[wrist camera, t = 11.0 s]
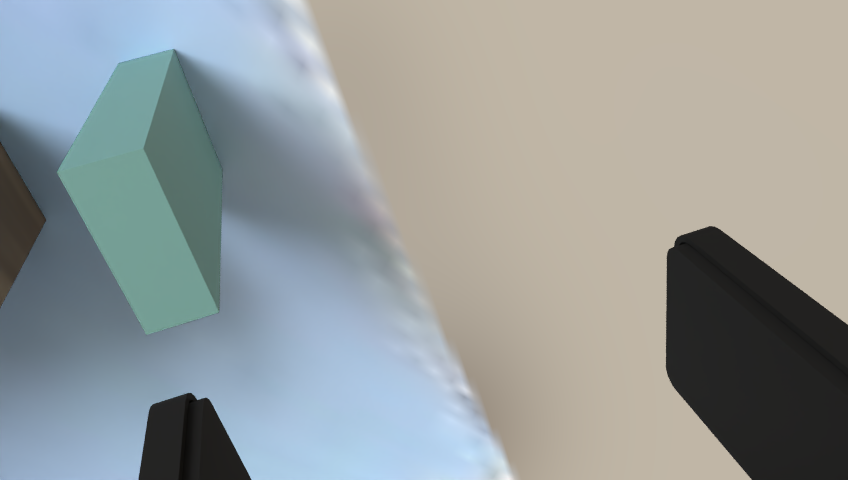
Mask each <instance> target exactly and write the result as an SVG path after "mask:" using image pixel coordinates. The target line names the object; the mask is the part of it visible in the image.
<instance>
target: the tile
mask: <svg viewBox="0 0 848 480" xmlns="http://www.w3.org/2000/svg"><path fill="white" fill-rule="evenodd" d="M222 172H223V170H222V168H221V165H220V163H219V160H218V158H217V155H216V153H215V150H214V148H213V145H212V143H211V140H210V138H209V135H208V133H207V130H206V128H205V125H204V123H203V120H202V118H201V115H200V113H199V110H198V108H197V105H196V103H195V100H194V98H193V95H192V93H191V90H190V88H189V85H188V83H187V80H186V78H185V75H184V73H183V70H182V68H181V65H180V63H179V60H178V58H177V55H176V53H175V50H174V49H172V50H168V51H164V52H160V53H156V54H152V55H149V56H145V57H141V58H137V59H133V60H129V61H125V62H122V63H119V64H118V65H117V67H116V69H115V71H114V72H113V74H112V76H111V78H110V79H109V81H108V83H107V85H106V86H105V88H104V90H103V92H102V93H101V95H100V97H99V99H98V101H97V102H96V104H95V106H94V108H93V109H92V111H91V113H90V115H89V116H88V118H87V120H86V122H85V123H84V125H83V127H82V129H81V130H80V132H79V134H78V136H77V137H76V139H75V141H74V143H73V144H72V146H71V148H70V150H69V152H68V153H67V155H66V157H65V159H64V160H63V162H62V164H61V166H60V167H59V169H58V171H57V174H58V176H59V177H60V179H61V181H62V183H63V185H64V186H65V188H66V190H67V192H68V194H69V196H70V197H71V199H72V201H73V203H74V205H75V206H76V208H77V210H78V212H79V214H80V215H81V217H82V219H83V221H84V223H85V225H86V226H87V228H88V230H89V232H90V234H91V235H92V237H93V239H94V241H95V243H96V244H97V246H98V248H99V250H100V252H101V253H102V255H103V257H104V259H105V261H106V263H107V264H108V266H109V268H110V270H111V272H112V273H113V275H114V277H115V279H116V281H117V282H118V284H119V286H120V288H121V290H122V292H123V293H124V295H125V297H126V299H127V301H128V302H129V304H130V306H131V308H132V310H133V311H134V313H135V315H136V317H137V319H138V321H139V322H140V324H141V326H142V328H143V330H144V331H145V333H146V335H148V334H151V333H155V332H158V331H161V330H164V329H167V328H171V327H174V326H177V325H180V324H184V323H187V322H190V321H193V320H197V319H200V318H203V317H206V316H210V315H213V314H216V313H219V300H220V257H221V215H222Z"/></svg>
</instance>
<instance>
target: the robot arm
mask: <svg viewBox="0 0 848 480" xmlns="http://www.w3.org/2000/svg"><path fill="white" fill-rule="evenodd" d="M666 370H667V374H668V377H669V379H670V381H671V383H672V385H673V386H674V388H675V389H676V390H677V392H678V393H679V394H680V395H681V396H682V397H683V399H684V400H685V401H686V402H687V403H688V405H689V406H690V407H691V408H692V409H693V411H694V412H695V413H696V414H697V415H698V416H699V418H700V419H701V420H702V421H703V422H704V424H705V425H706V426H707V427H708V428H709V429H710V431H711V432H712V433H713V434H714V435H715V437H716V438H717V439H718V440H719V441H720V442H721V443H722V445H723V446H724V447H725V448H726V450H727V451H728V452H729V453H730V454H731V455H732V457H733V458H734V459H735V460H736V461H737V462H738V464H739V465H740V466H741V467H742V468H743V470H744V471H745V472H746V473H747V474H748V476H749V477H750V478H751V479H752V480H848V325H847V324H846V323H845V322H843V321H842V320H840V319H839V318H838V317H836V316H835V315H834V314H832V313H831V312H830V311H828V310H827V309H826V308H824V307H823V306H822V305H820V304H819V303H818V302H816V301H815V300H814V299H812V298H811V297H810V296H808V295H807V294H806V293H804V292H803V291H802V290H800V289H799V288H798V287H796V286H795V285H793V284H792V283H791V282H789V281H788V280H787V279H785V278H784V277H783V276H781V275H780V274H779V273H778V272H776V271H775V270H774V269H772V268H771V267H769V266H768V265H767V264H765V263H764V262H763V261H761V260H760V259H759V258H757V257H756V256H755V255H753V254H752V253H751V252H749V251H748V250H747V249H745V248H744V247H743V246H741V245H740V244H738V243H737V242H736V241H735V240H733V239H732V238H730V237H729V236H728V235H727V234H725V233H724V232H723V231H721V230H720V229H718V228H716V227H712V226H709V227H707V228H703V229H700V230H697V231H694V232H691V233H688V234H684V235H681V236H679V237H678V238H677V239H676V241H675V245H674V247H673V248H671V249H669V251H668V253H667V311H666ZM139 480H251V478H250V476H249V474H248V472H247V470H246V468H245V467H244V465H243V463H242V461H241V459H240V457H239V455H238V453H237V451H236V449H235V447H234V445H233V444H232V442H231V440H230V438H229V436H228V434H227V432H226V430H225V428H224V426H223V424H222V423H221V421H220V419H219V417H218V415H217V413H216V411H215V409H214V407H213V405H212V403H211V402H210V400H209V399H208V398H203V399H200V400H197V399H196V398H195V396H194V395H193V394H192V393H187V394H184V395H181V396H178V397H174V398H171V399H168V400H165V401H162V402H159V403H156V404H153V405H152V406H151V407H150V410H149V415H148V421H147V428H146V434H145V441H144V447H143V454H142V460H141V467H140V473H139Z"/></svg>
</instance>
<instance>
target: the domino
mask: <svg viewBox="0 0 848 480" xmlns="http://www.w3.org/2000/svg"><path fill="white" fill-rule="evenodd" d="M45 222H46V219H45V217H44V216H43V214H42V212H41V210H40V209H39V207H38V205H37V204H36V202H35V200H34V199H33V197H32V195H31V193H30V192H29V190H28V188H27V187H26V185H25V183H24V182H23V180H22V178H21V176H20V175H19V173H18V171H17V170H16V168H15V166H14V165H13V163H12V161H11V159H10V158H9V156H8V154H7V153H6V151H5V149H4V147H3V146H2V144H1V142H0V308H1V306H2V304H3V302H4V300H5V298H6V296H7V294H8V292H9V290H10V288H11V286H12V285H13V283H14V281H15V279H16V277H17V275H18V273H19V271H20V269H21V267H22V265H23V264H24V262H25V260H26V258H27V256H28V254H29V252H30V250H31V248H32V246H33V244H34V243H35V241H36V239H37V237H38V235H39V233H40V231H41V229H42V227H43V225H44V223H45Z"/></svg>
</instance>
